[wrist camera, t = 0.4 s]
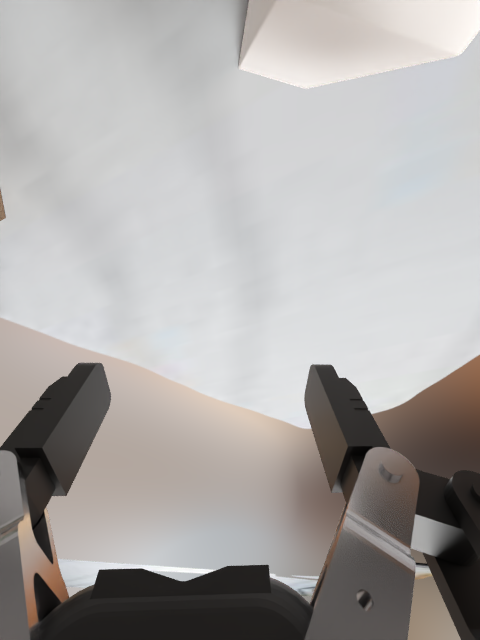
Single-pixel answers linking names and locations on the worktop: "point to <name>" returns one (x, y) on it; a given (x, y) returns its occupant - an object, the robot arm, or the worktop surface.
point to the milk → (352, 37)
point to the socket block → (1, 209)
